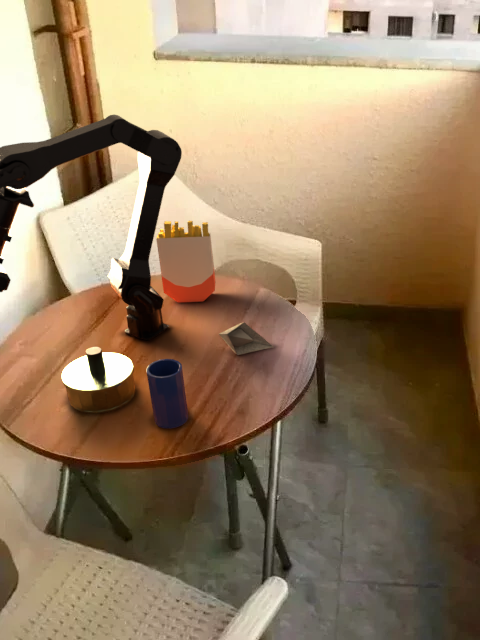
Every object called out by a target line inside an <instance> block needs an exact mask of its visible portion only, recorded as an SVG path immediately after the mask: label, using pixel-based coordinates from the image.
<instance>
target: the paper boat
mask: <svg viewBox="0 0 480 640" xmlns="http://www.w3.org/2000/svg"><path fill="white" fill-rule="evenodd" d="M218 336H220V338H221V339H222V340H223V341H224V343H225V344H226V345H227V346H228V347H229V348H230V349H231V351H232V352H233V353H234V354H236V355H237V356H239V355H245V354H249V353H253V352H257V351H262V350H267V349H271V348H274V345H273V344H271V343H270V342H269V341H268V340H266V338H264V337H263V336H262V335H260V334H259V333H258V332H257V331H256V330H254V328H252V327H251V326H250V325H248V324H247V322H245V321H243V322H240V323H238V324H236V325H234V326H232V327H230V328H228V329H226V330H224V331H222V332H220V333H218Z"/></svg>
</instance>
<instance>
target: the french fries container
mask: <svg viewBox="0 0 480 640" xmlns="http://www.w3.org/2000/svg"><path fill="white" fill-rule="evenodd" d="M186 223H187V232H185V227H182V226H180V227H179V221H174V224H172V220H171V221H170V220H165V221H164V222H163V228H160V229H159V232H158V233H157V234H156V238H155V239H156V246H157V254H158V261H159V268H160V276H161V283H162V289H163V294H165V295H166V296H168V297H169V298H170V299H172V300H174V301H175V302H177V303H198V302H204V301H205V300H207V299H208V298H209V297H210V296H211V295H212V294H213V293H214V292H215V291H216V273H215V263H214V254H213V246H212V237H211V233H210V232H209V222H207V221H206V222H205V221H203V222H202V223H201V225H198V224H194V222H193V220H188V221H187V222H186ZM201 226H202V227H201Z"/></svg>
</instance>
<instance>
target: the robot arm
mask: <svg viewBox="0 0 480 640" xmlns="http://www.w3.org/2000/svg"><path fill="white" fill-rule="evenodd" d="M117 144H123V145H125V146H127V147H129V148H130V149H132V150H135V151H136V152H137V165H138V173H139V183H138V187H137V192H136V197H135V201H134V206H133V211H132V215H131V220H130V225H129V230H128V235H127V239H126V244H125V248H124V251H123V254H121V256H120V257H119V258H116V257H112V258H111V261H110V271H109V273H108V274H107V278H108V279H109V284H110V286H111V288H112V289H113V291H114V292H115V293H116V295H117V296H118V297H119V298H120V299H121V300H122V301H123V302H124V303H125V304H126V305H128V306H126V307H125V309H126V314H127V315H126V316H125V317H126V322H127V328H126V329H125V330H124V334H126V335H128V336H132V337H135V338H137V339H140V340H143V341H146V342H148V341H151V340H152V339H154V338H156V337H157V336H159V335H160V334H162V333H163V332H165V331H167V330H168V329H170V324H167V323H164V319H163V312H162V309H163V306H164V298H163V297H162V296H161V295H160V294H159V292H158V291H157V290H156V289H154V288H153V286H152V285H151V283H152V276H151V275H152V274H151V267H150V255H151V251H152V246H153V242H154V238H155V233H156V229H157V224H158V220H159V216H160V212H161V208H162V207H161V206H162V203H163V198H164V193H165V189H166V187H167V185H168V184H169V183H170V182H171V180H172V179H173V177H174V176H175V175H176V172H177V169H178V167H179V164H180V163H181V160H182V155H183V154H182V153H183V152H182V148H181V146H180V144H179V143H178V141H176V140H175V139H174V138H172V137H171V136H169V135H168V134H166V133H165V132H163V131H161V130H158V129H150V130H146V129H144V128H142V127H140V126H138V125H136V124H133V123H132V122H129V121H128V120H126V119H125V118H124V117H122V116H120V115H118V114H110V115H107V117H105V118H102V119H100V120H97V121H95V122H92V123H89V124H86V125H83V126H80V127H79V128H75V129H73V130H70V131H67V132H64V133H62V134H59V135H56V136H54V137H51V138H48V139H45V140H41V141H31V142H27V141H26V142H18V143H12V144H7V145H3V146H0V293H3V292H4V291H8V289H9V286H10V283H11V282H12V281H11V278H10V276H9V275H8V273H7V271H6V269H5V268H4V266H3V265H2V264H3V262H4V260H5V257H4V256H3V255H2V254H3V252H4V249H5V246H6V244H7V242H9V243H11V241H12V238H13V236H12V234H11V230H12V227H13V226H14V225H13V224H14V222H15V219H16V217H17V214H18V211H19V208H20V206H21V205H23V206H26V207H28V208H34V207H35V203H34V202H33V201H32V199H31V195H30V192H29V190H28V189H27V188H28V187H30V186H32V185H33V184H35V183H36V182H38V181H40V180H42V179H43V178H44V177H45V176H46V175H47V174H49V173H50V172H51V171H52V170H54V169H55V168H57V167H59V166H62V165H64V164H66V163H70V162H72V161H75V160H77V159H81V158H83V157H85V156H87V155H91V154H93V153H96V152H99V151H101V150H103V149H106V148H109V147H113V146H114V145H117Z"/></svg>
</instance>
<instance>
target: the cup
mask: <svg viewBox="0 0 480 640" xmlns="http://www.w3.org/2000/svg"><path fill="white" fill-rule="evenodd" d="M145 371H146V377H147V384H148V390H149V396H150V402H151V407H152V414H153V419H154V423H155V425H156V426H158V427H159V428H161V429H176V428H179V427H181V426H183V425H184V424H186V423H187V422H188V420H189V410H188V409H189V408H188V401H187V394H186V387H185V379H184V370H183V364H182V363H181V362H180V361H179V360H177V359H174V358H162V359H158V360H154V361H152V362H150V363H149V364H148V365H147V367H146V369H145Z"/></svg>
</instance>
